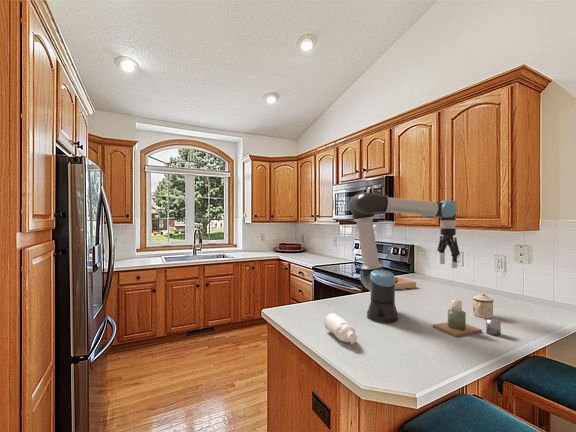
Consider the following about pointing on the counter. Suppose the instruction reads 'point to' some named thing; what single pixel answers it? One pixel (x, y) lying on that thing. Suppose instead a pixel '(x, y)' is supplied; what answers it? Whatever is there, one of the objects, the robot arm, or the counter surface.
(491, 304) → the teacup with lid
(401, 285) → the planter frame
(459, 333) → the brown board with cylinder
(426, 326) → the counter surface
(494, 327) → the cap
